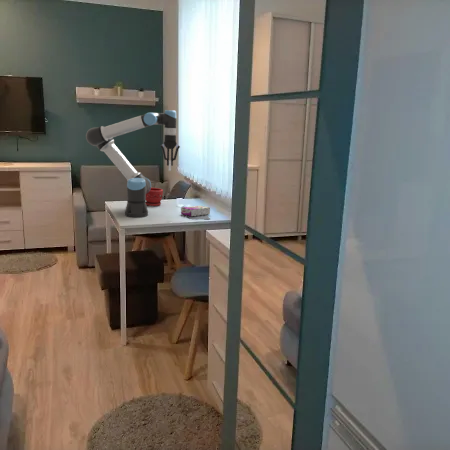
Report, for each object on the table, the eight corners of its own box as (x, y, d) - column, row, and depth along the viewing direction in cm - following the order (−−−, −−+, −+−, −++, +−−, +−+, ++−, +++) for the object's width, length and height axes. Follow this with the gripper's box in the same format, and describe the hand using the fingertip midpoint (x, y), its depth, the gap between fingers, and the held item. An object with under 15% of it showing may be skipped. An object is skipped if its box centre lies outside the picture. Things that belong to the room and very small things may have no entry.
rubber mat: (190, 219, 280) (190, 218, 280) (187, 215, 292) (187, 214, 292) (210, 219, 283) (210, 218, 283) (206, 215, 295) (206, 214, 295)
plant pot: (150, 207, 310) (150, 190, 308) (141, 204, 320) (141, 188, 317) (166, 205, 319) (166, 189, 316) (156, 202, 328) (156, 186, 326)
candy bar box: (180, 206, 291) (199, 205, 303) (180, 214, 292) (199, 212, 304) (191, 209, 284) (210, 207, 295) (191, 216, 284) (210, 214, 296)
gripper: (160, 134, 281) (160, 171, 287) (180, 135, 284) (180, 171, 290) (159, 133, 288) (159, 169, 294) (179, 134, 291) (178, 170, 297)
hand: (169, 170), depth 292 cm, fingers closed
